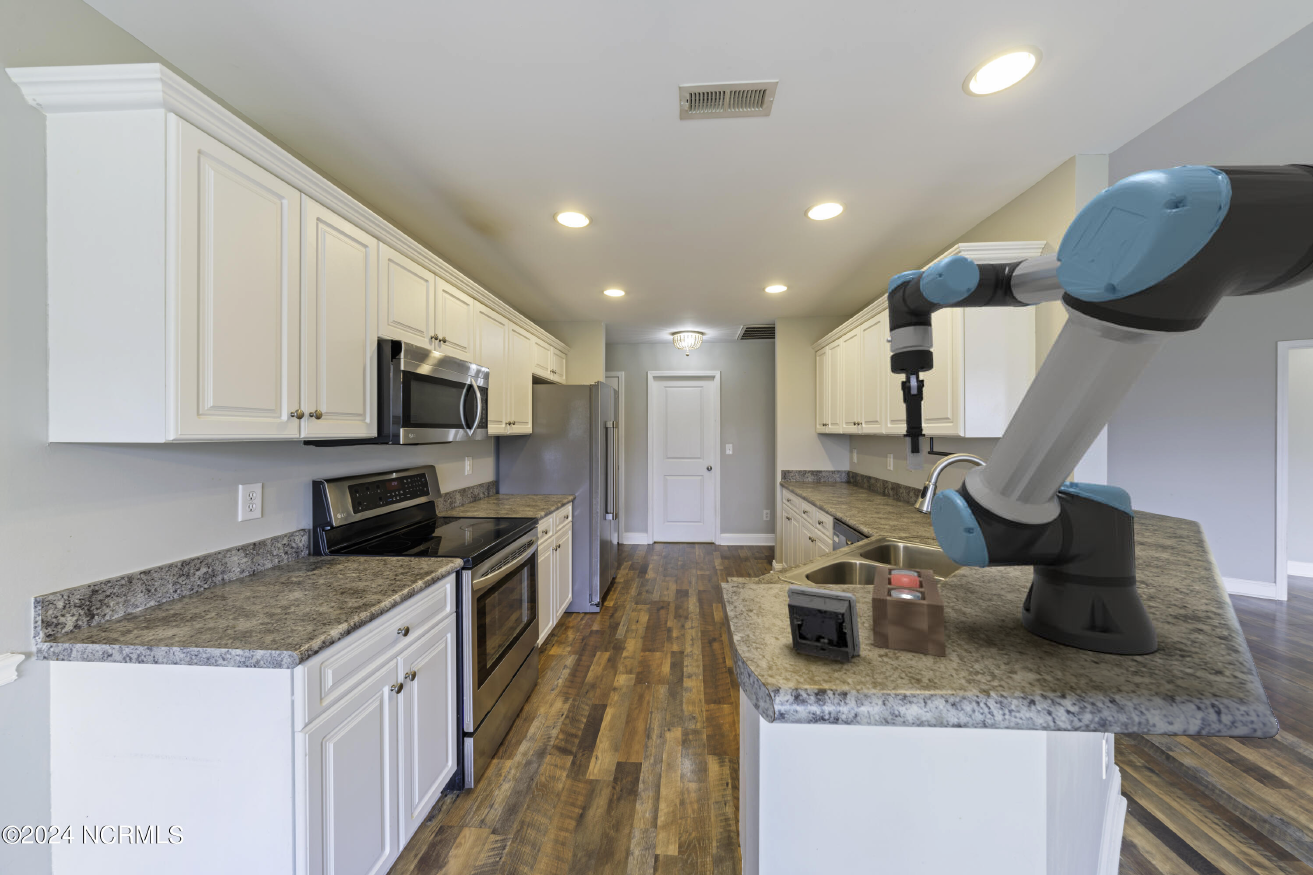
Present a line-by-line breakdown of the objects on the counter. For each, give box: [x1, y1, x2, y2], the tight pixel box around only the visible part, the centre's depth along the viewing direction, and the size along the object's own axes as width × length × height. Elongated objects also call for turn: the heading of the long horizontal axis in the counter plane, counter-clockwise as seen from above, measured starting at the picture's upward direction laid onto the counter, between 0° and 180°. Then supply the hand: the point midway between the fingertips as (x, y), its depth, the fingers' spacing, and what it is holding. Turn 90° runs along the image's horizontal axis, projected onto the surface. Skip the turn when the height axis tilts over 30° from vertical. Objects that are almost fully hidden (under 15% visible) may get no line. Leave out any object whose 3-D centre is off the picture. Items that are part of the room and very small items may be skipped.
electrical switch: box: [786, 584, 861, 664], centre depth 66 cm, size 9×5×9 cm, turn 57°
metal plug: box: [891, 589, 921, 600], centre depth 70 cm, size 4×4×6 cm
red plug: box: [891, 574, 919, 588], centre depth 76 cm, size 4×4×6 cm
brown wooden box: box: [871, 565, 946, 658], centre depth 76 cm, size 9×21×7 cm, turn 153°
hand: (915, 470), depth 93 cm, fingers closed
